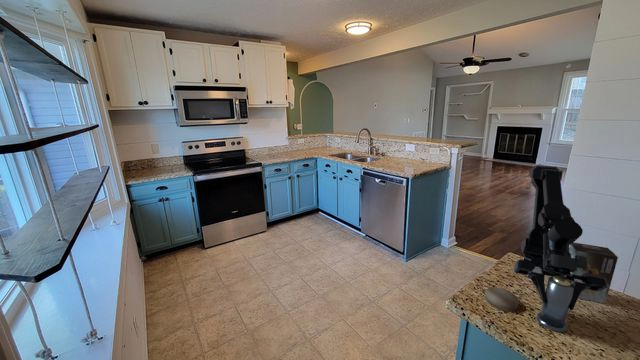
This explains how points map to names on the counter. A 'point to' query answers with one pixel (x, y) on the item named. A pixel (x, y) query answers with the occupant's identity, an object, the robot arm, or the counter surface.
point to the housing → (556, 304)
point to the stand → (501, 299)
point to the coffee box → (595, 268)
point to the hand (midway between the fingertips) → (557, 306)
